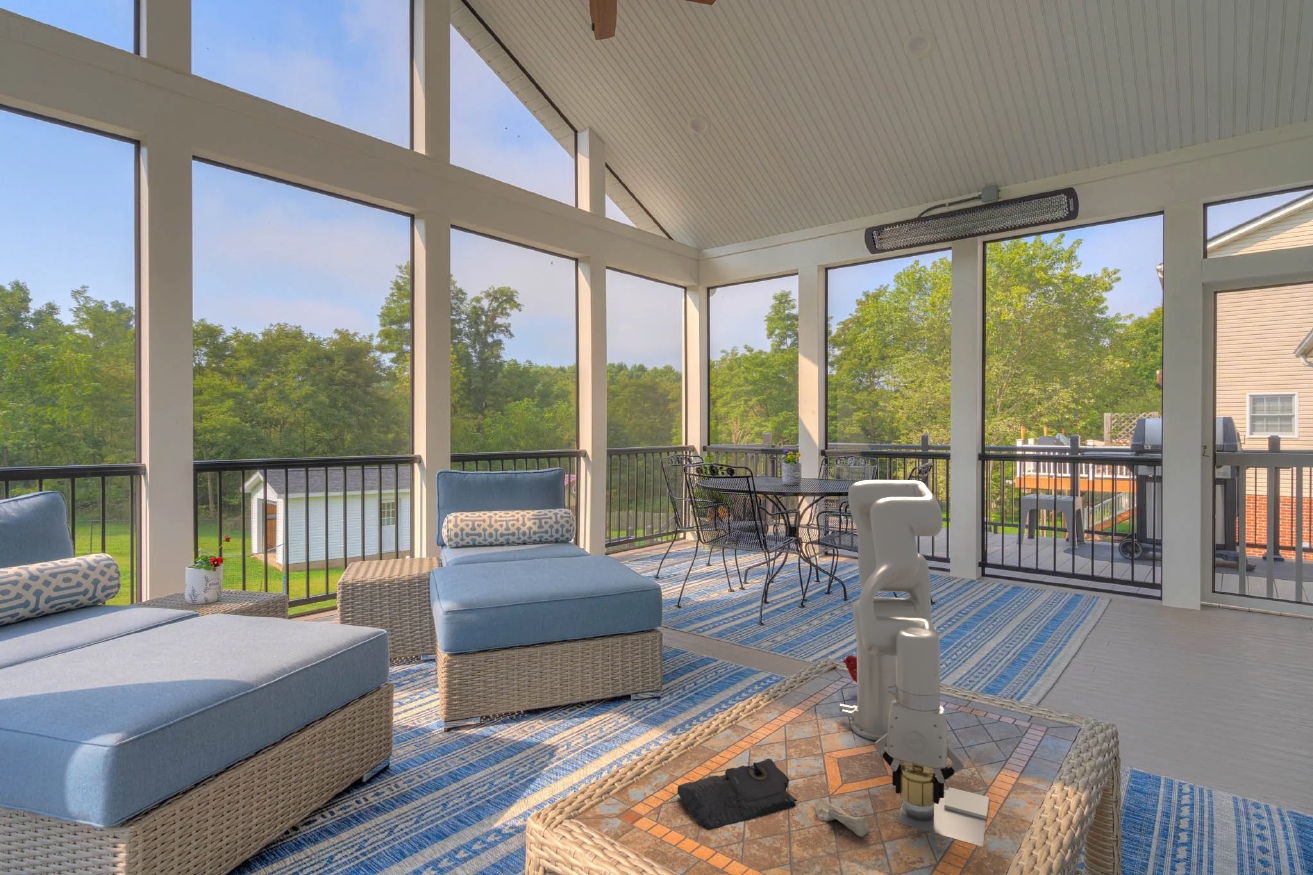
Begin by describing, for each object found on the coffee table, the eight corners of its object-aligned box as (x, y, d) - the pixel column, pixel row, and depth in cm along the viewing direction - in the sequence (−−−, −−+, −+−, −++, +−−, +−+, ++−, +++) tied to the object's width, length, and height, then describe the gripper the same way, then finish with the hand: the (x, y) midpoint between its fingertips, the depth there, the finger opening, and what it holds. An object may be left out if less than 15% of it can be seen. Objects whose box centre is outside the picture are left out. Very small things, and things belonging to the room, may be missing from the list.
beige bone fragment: (823, 809, 123) (823, 786, 123) (875, 833, 116) (875, 808, 116) (807, 822, 119) (807, 798, 119) (860, 847, 112) (860, 821, 112)
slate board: (895, 827, 117) (895, 821, 117) (911, 785, 131) (911, 780, 131) (982, 852, 110) (982, 846, 110) (989, 805, 124) (989, 800, 124)
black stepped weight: (667, 792, 129) (667, 769, 129) (760, 769, 138) (760, 746, 138) (704, 836, 115) (704, 809, 115) (805, 806, 124) (805, 781, 124)
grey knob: (899, 815, 119) (899, 778, 119) (905, 801, 123) (905, 765, 123) (931, 824, 116) (931, 786, 116) (935, 809, 121) (935, 772, 121)
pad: (944, 807, 121) (944, 804, 121) (948, 790, 127) (949, 787, 127) (986, 819, 118) (986, 815, 118) (989, 800, 124) (989, 797, 124)
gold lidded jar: (897, 799, 119) (897, 768, 119) (903, 784, 124) (903, 753, 124) (933, 809, 116) (933, 776, 116) (937, 793, 121) (937, 761, 121)
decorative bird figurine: (842, 688, 181) (842, 652, 181) (910, 698, 174) (910, 660, 174) (841, 692, 178) (841, 655, 178) (910, 702, 171) (910, 664, 171)
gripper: (865, 695, 121) (865, 792, 121) (967, 715, 112) (967, 819, 112) (873, 682, 127) (874, 773, 127) (971, 700, 118) (971, 798, 119)
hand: (918, 794), depth 120 cm, fingers closed on gold lidded jar, 6 cm apart
